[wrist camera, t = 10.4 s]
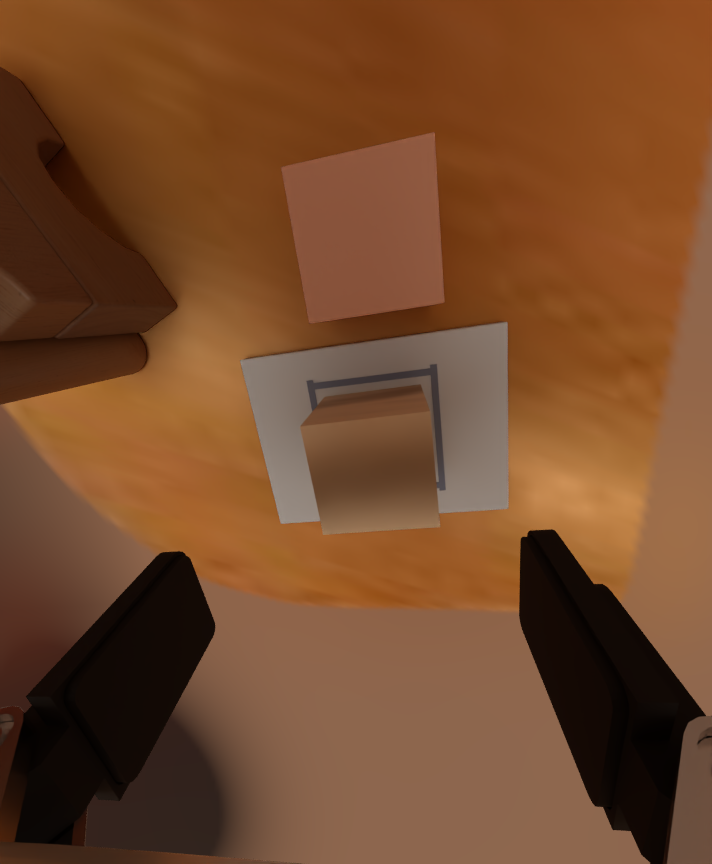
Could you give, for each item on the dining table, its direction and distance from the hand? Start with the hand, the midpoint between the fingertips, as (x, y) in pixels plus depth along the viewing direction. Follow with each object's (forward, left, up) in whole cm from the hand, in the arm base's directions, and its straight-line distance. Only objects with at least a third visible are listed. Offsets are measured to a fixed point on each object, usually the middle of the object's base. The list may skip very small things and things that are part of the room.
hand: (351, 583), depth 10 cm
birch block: (0, 0, -13) cm, 13 cm away
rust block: (-10, +1, -14) cm, 18 cm away
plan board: (0, 0, -14) cm, 14 cm away
